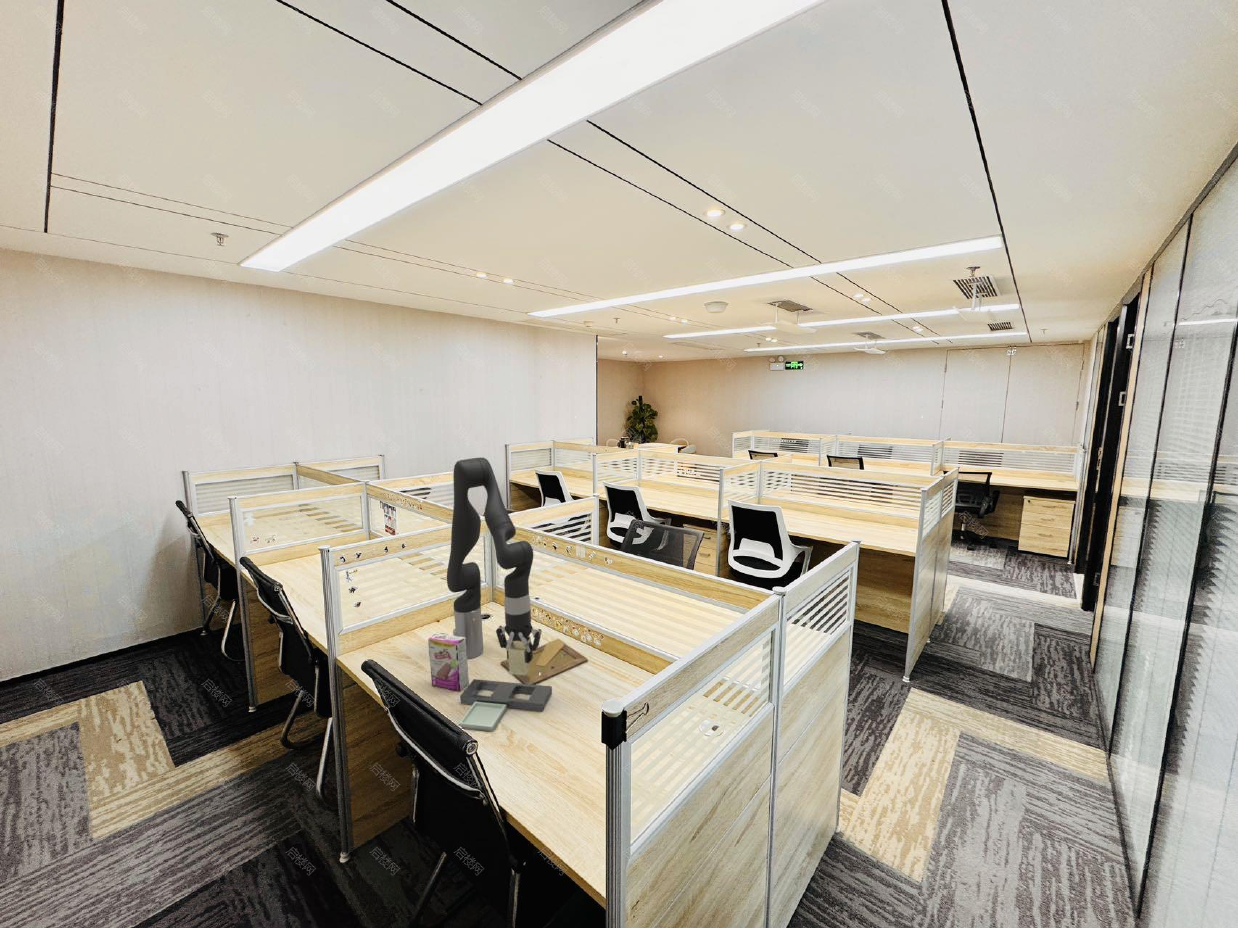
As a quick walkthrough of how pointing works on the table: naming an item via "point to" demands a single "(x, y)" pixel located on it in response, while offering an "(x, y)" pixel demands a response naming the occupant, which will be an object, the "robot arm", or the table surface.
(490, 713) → the tray
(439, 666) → the candy bar box
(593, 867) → the table surface
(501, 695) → the board with square holes
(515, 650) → the tan square peg
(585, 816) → the table surface
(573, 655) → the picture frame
